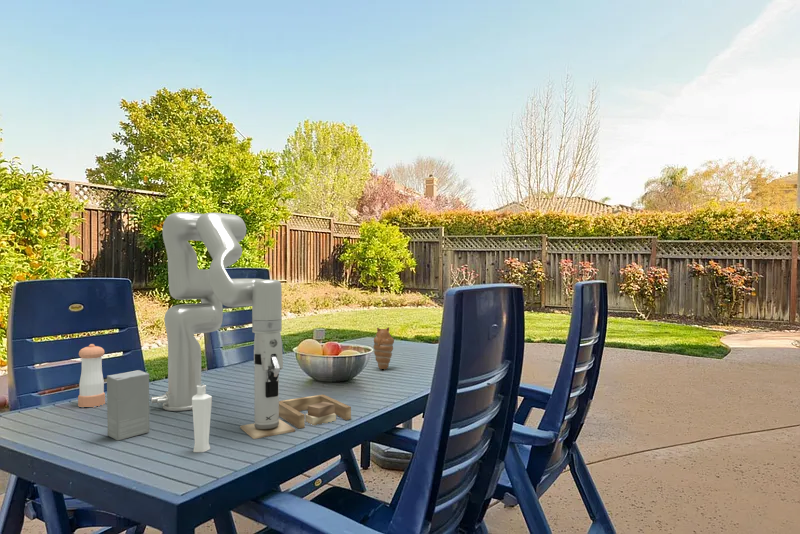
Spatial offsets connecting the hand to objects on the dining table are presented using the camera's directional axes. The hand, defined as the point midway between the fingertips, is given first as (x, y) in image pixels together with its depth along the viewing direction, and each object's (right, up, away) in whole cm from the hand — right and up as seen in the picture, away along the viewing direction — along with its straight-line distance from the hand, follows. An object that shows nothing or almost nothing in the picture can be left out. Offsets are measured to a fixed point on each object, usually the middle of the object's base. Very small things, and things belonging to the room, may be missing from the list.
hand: (266, 393), depth 137 cm
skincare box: (-35, -10, -4) cm, 36 cm away
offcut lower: (+13, -10, +7) cm, 18 cm away
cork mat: (0, -10, 0) cm, 10 cm away
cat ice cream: (+28, -10, +82) cm, 88 cm away
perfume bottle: (-12, -10, -15) cm, 21 cm away
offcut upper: (+13, -8, +8) cm, 17 cm away
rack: (+10, -10, +12) cm, 18 cm away
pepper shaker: (-62, -10, +26) cm, 68 cm away
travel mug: (0, -9, 0) cm, 9 cm away
